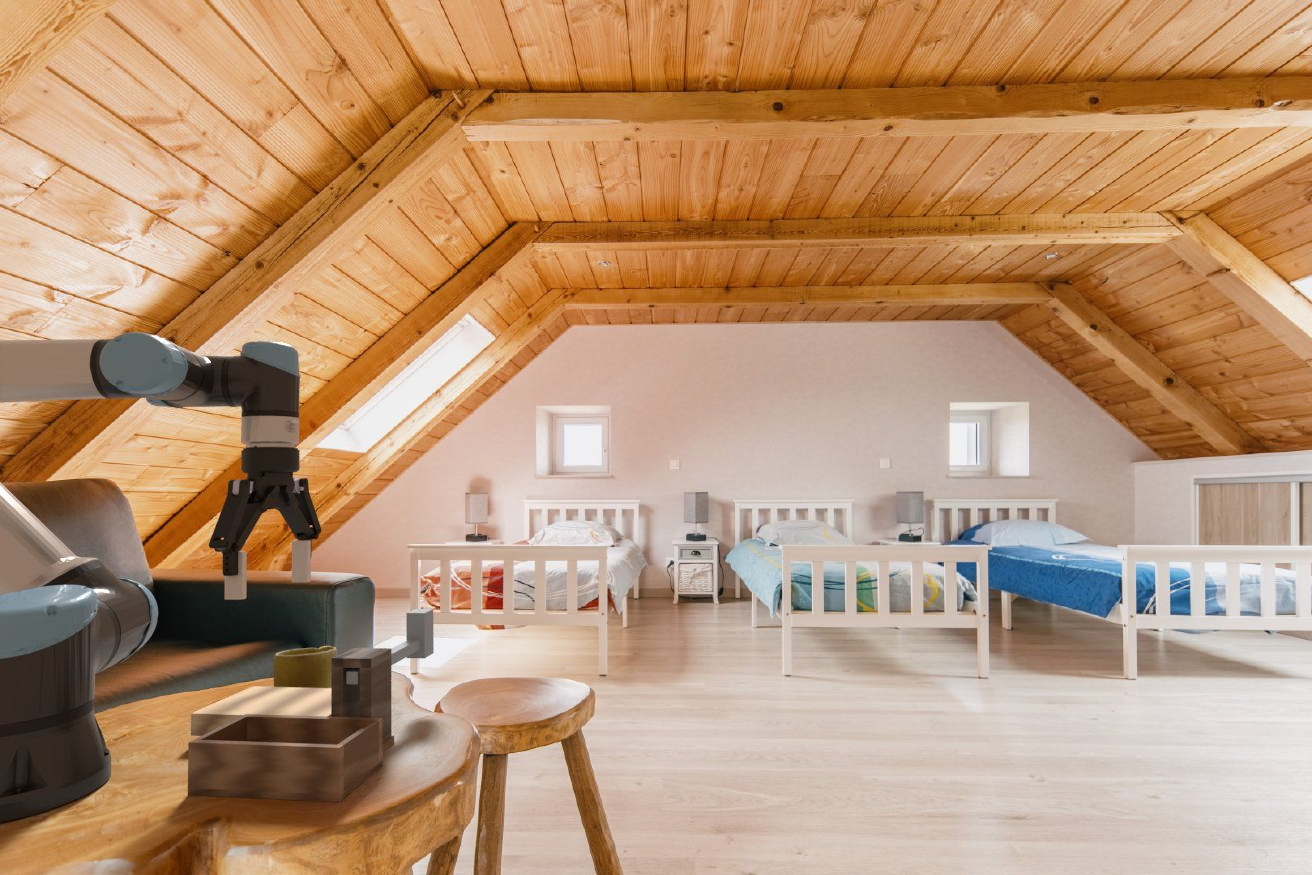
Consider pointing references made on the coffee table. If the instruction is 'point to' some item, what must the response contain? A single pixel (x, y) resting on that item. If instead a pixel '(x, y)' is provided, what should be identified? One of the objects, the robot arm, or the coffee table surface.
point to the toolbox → (303, 742)
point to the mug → (304, 667)
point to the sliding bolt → (408, 641)
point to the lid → (262, 706)
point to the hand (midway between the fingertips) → (270, 590)
